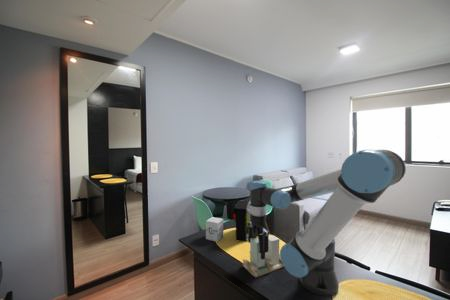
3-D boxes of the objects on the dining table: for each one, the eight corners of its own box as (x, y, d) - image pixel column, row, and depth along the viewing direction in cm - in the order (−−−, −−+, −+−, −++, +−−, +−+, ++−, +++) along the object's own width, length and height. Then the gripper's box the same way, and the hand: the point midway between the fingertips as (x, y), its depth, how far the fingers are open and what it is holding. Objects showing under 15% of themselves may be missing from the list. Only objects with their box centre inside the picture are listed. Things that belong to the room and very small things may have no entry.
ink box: (212, 233, 137) (212, 216, 137) (223, 236, 134) (223, 218, 133) (205, 239, 130) (205, 220, 129) (217, 242, 126) (217, 223, 125)
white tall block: (279, 262, 103) (279, 238, 102) (271, 265, 100) (271, 241, 100) (272, 257, 107) (272, 235, 106) (264, 260, 104) (264, 237, 104)
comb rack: (286, 265, 102) (286, 258, 101) (255, 277, 92) (255, 269, 92) (272, 256, 110) (272, 249, 110) (243, 266, 101) (243, 258, 101)
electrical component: (249, 241, 126) (249, 209, 126) (232, 240, 128) (233, 208, 128) (251, 229, 144) (251, 201, 143) (236, 228, 146) (237, 200, 145)
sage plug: (265, 265, 98) (265, 240, 98) (256, 268, 96) (256, 243, 95) (258, 260, 103) (258, 236, 102) (250, 263, 100) (250, 238, 100)
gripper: (277, 218, 92) (276, 269, 93) (252, 207, 108) (252, 251, 109) (264, 221, 89) (263, 274, 89) (240, 209, 104) (240, 254, 105)
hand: (257, 261), depth 99 cm, fingers closed on sage plug, 5 cm apart
